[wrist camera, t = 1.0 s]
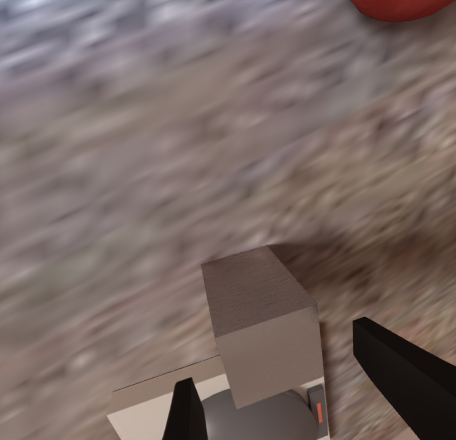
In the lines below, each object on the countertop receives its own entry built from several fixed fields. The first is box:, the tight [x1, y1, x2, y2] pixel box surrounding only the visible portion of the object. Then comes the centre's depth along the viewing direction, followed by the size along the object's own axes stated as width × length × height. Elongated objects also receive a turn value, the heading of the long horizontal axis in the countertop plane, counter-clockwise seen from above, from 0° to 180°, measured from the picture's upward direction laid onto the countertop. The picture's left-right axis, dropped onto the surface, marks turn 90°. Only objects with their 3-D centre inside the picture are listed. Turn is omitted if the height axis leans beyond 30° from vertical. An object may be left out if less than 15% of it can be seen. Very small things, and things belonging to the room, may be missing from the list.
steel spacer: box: [201, 245, 324, 409], centre depth 13 cm, size 4×4×6 cm
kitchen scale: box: [106, 355, 330, 440], centre depth 19 cm, size 15×15×2 cm
